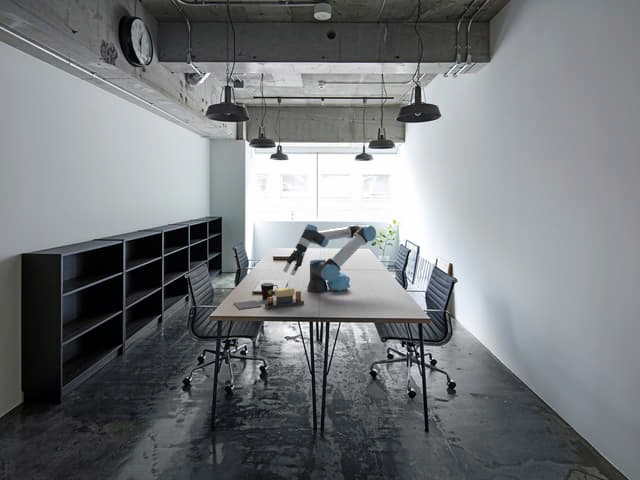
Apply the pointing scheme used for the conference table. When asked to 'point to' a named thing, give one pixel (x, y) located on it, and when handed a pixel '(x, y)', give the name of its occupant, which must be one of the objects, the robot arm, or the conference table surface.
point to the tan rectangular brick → (284, 292)
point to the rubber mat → (247, 305)
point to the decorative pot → (339, 282)
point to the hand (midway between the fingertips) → (288, 273)
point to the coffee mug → (267, 290)
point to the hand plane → (284, 301)
